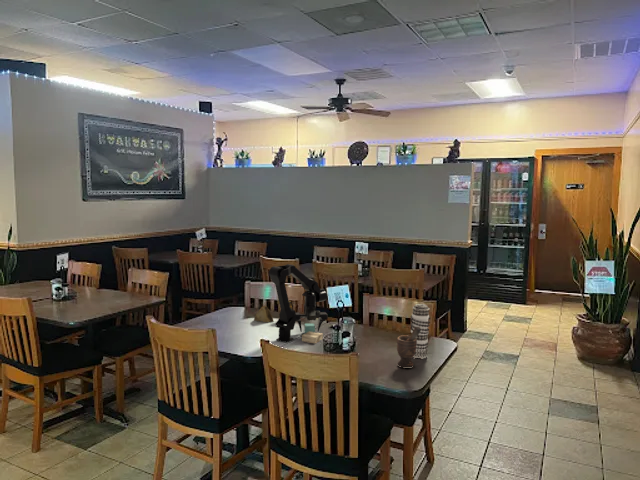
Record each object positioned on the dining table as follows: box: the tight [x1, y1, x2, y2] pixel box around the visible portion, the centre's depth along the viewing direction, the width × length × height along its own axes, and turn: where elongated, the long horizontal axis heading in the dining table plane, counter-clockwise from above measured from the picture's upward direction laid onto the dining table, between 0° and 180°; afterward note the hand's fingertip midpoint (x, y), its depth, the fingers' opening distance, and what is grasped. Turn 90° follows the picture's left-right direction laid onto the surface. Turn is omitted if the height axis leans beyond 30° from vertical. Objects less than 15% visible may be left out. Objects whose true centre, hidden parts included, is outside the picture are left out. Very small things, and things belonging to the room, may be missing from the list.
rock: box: [253, 305, 274, 323], centre depth 282 cm, size 11×9×10 cm
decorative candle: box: [410, 303, 431, 357], centre depth 229 cm, size 9×9×25 cm
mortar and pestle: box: [396, 327, 421, 367], centre depth 213 cm, size 12×9×20 cm
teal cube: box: [303, 323, 316, 334], centre depth 260 cm, size 5×5×5 cm
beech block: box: [301, 331, 324, 344], centre depth 249 cm, size 8×8×4 cm
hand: (309, 331), depth 260 cm, fingers open, 9 cm apart
